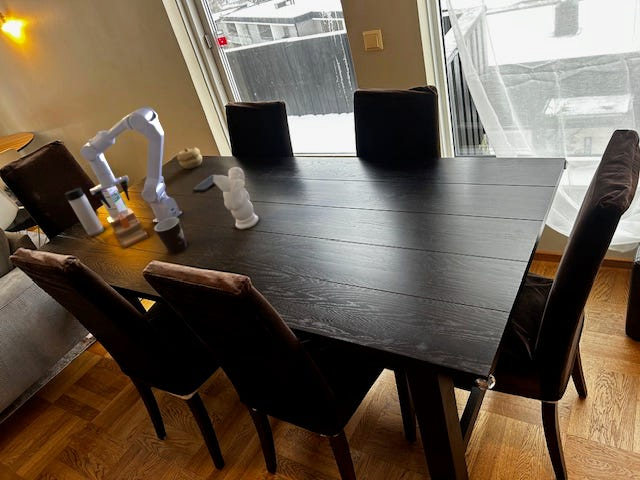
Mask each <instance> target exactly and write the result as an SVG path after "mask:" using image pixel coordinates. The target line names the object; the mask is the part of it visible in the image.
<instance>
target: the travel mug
mask: <svg viewBox="0 0 640 480" xmlns="http://www.w3.org/2000/svg"><path fill="white" fill-rule="evenodd" d="M64 195H65V198H66V199H67V201H68V203H69V204H70V206H71V208H72V209H73V212H74V213H75V215H76V217H77V218H78V220H79V221H80V223H81V225H82V226H83V228H84V230H85V232H86V234H87V235H88V236H89V237H95V236H98V235H100V234H101V233H102V232H104V229H105V228H104V226H103V225H102V222H101V221H100V219H99V217H98V216H97V214H96V212H95V211H94V209H93V207H92V205H91V203H90V201H89V200H88V198H87V196H86V194H85V193H84V191H83V189H82V188H81V187H76V188H75V189H72V190H68V191H67V192H65V193H64Z"/></svg>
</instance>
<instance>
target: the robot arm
mask: <svg viewBox="0 0 640 480" xmlns="http://www.w3.org/2000/svg"><path fill="white" fill-rule="evenodd" d="M126 130H130V131H133V130H134V131H135V132H137V133H139V134H141V135H142V136H144V137H146V139H148V144H147V145H148V146H147V164H146V165H147V166H146V169H147V170H146V178H145V182H144V186H143V189H142V190H141V197H142V199H143V200H144V201H145V202H147V203H148V204H149V206H150V208H151V210H152V212H153V214H154V216H155V218H154V219H153V220H152V223H159V222H161V221H163V220H165V219H168V218H176V217H177V218H179V216H180V215H182V213H183V211H181V210H180V208H179V206H178V204H177V202H176V200H175V198H173V197H170V196H168V195H167V193H166V184H165V181H164V176H163V175H162V173H163V172H162V171H163V156H164V143H165V141H164V140H165V132H164V130H163V127H162V126H161V124H160V122H159V117H158V114H157V113H156V111H154V109H153V108H151V107H150V106H146V105H144V106H141V107H139V108H138V109H137V110H134V111H133V112H131V113H129V114H127V115H126V116H124V117H123V118H122V119H121V120H120V121H118V122H117V123H116V124H115V125H113V127H112V128H110V129H109V130H102V131H100V130H99V131H97V132H96V136H94V137H93V138H90V139H89V140H87V143H86V144H84V145H82V147H81V148H80V150H79V152H80V155H81V157H82V158H83V159H84V160H86V161H87V162H88V164H89V165H90V168H91V169H92V171H93V173H94V175H95V177H96V179H97V181H98V182H99V184H98V185H97V186H94V187H92V188H90V189H89V192H90V193H91V195H92V196H94V195H95V197H96V198H97V199H99V200H100V201H101V200H102V201H103V202H104V203H105V204H106V205H107V206H108V207H109V208H111V206H110V204H109V202H108V201H107V199H106V198H105V196H104V194H103V192H102V191H103V190H106V189H108V188H111V187H114V186H116V187H117V186H119V185H120V187H121V188H122V191H123V192H124V194H125V196H126V200H127V201H128V202H129V201H131V199H130V196H129V186H128V185H129V183H128V182H130V179H129V176H128V175H123V176H120V177H115V175H114V174H113V172H112V170H111V168H110V165H109V164H108V162H107V160H106V158H105V155H104V152H106V150H108V149H110V148H111V147H112V146H113V145H115V143H116V138H117V137H118V136H120V135H121V134H122V133H123V132H125V131H126ZM102 201H101V202H102Z"/></svg>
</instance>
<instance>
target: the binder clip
mask: <svg viewBox="0 0 640 480" xmlns="http://www.w3.org/2000/svg"><path fill="white" fill-rule="evenodd" d="M121 214H122V213H121ZM118 218H119V220H120V222H121V224H122V226H123V227H124V229H126V228H128V227H130V224H129V222H128V220H127V218H126V217H125V215H124V214H122V215H121V216H119V215H118Z"/></svg>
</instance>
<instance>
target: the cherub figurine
mask: <svg viewBox="0 0 640 480" xmlns="http://www.w3.org/2000/svg"><path fill="white" fill-rule="evenodd" d="M213 175H214V177H213V179H214V180H213V182H215V184H214V185H216V186H217V187H218V189H219V190H221V191H222V196H223V200H224V202H223V204H224V206H225V208H226V209H227V210H228V211H230V213H231V215H232V217H233V219H235V225H234V226H235V227H236V228H237V229H239V230H245V229H249V228H251V227H254V226H255V225H256V224H257V223H258V222H259V216H258V215H257V214H255V212H254V206H253V204H252V202H251V201H250V200H251V197H250V194H249V192H248V191H247V190H246V188H245V183H246V182H245V180H246V177H245V172H244V170H243V169H242V168H241V167H238V166H234V167H233V166H232V167H231V168H229V169H228V176H227V175H224V174H213ZM218 175H220V176H218Z"/></svg>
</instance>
